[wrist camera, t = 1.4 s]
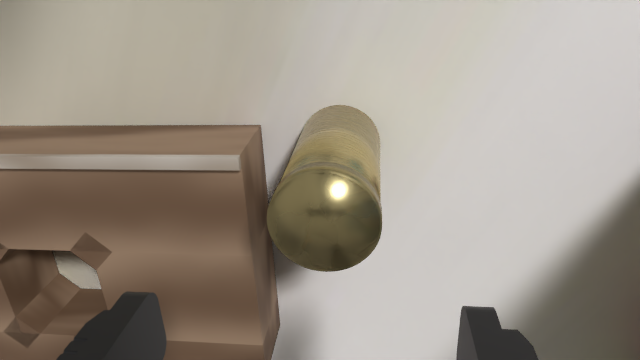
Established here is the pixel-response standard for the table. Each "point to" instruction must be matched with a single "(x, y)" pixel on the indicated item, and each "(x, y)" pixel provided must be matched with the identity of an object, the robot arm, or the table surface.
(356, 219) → the brass cylinder plug
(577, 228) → the table surface
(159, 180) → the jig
